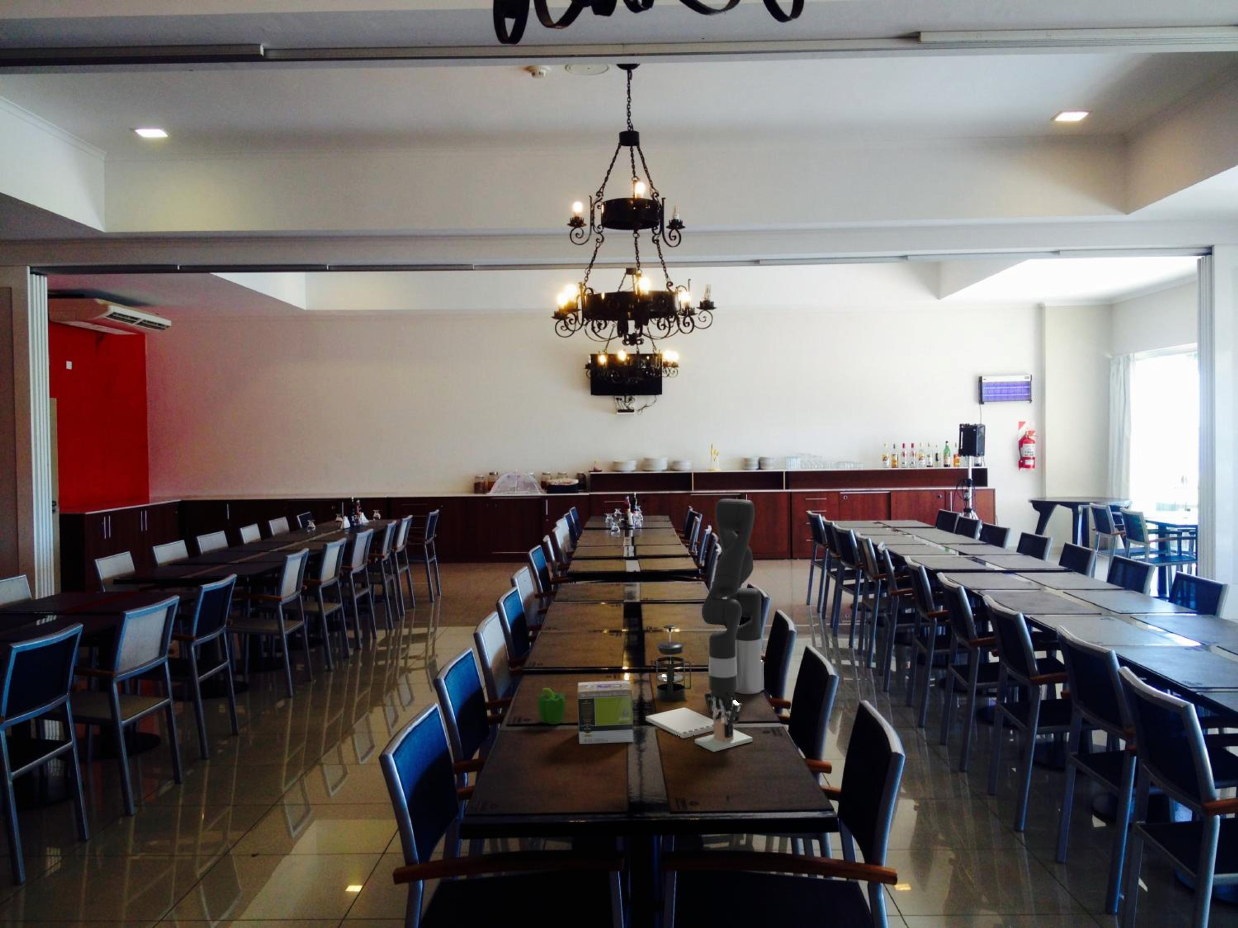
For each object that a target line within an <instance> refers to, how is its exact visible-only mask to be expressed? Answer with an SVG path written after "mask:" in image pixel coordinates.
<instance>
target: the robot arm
mask: <svg viewBox="0 0 1238 928" xmlns="http://www.w3.org/2000/svg"><path fill="white" fill-rule="evenodd" d="M755 513H756V512H755V504H754V502H753V501H752V500H749V499H741V498H740V499H737V498H736V499H735V498H722V499H721V498H720V499H719V500H718V501H717V503H716V505H715V511H714V518H715V524H716V528H717V532H718V533H717V534H718V537H719V541H720V546H721V548H720V549H721V556H720V557H719V559H718V560H717V563H716V566H715V570H714V577H713V582H712V585H711V587H710V590H709V592H708V594H707V596H706V598H705V600H704V601H703V604H702V608H701V617H702V619H703V621H704V622H705V624H707V625H714V626H727V628H726V630H723V631H720V632H714V633H712V634H710V636H709V638H708V639H709V640H708V641H709V642H708V643H709V647H708V648H709V649H708V650H709V653H708V654H709V658H708V689H709V690H710V691H711V692H706V693H704V700H705V703H706V708H707V711H708V713H707V714H708V716H710V717H711V716H712V720H715V719H719V718H723V717H724V722H725V724H724V730H725V738H730V737H732V736H733V729H734V724H737V723H739V721H740V717H741V714H742V710H743V704H742V702H741V703H738V702H737V701H736V696H735V693H737V694H741V695H743V694H744V695H752V694H753V695H754V694H759V693H760V692H762V691H763V690H764V689H765V686H764V685H765V677H764V676H765V675H764V672H765V671H764V665H765V664H764V663H765V662H764V660H762V635H761V634H762V633H761V632H762V630H761V628H762V626H761V624H762V623H761V621H762V619H761V618H762V613H761V612H762V594H761V591H760V589H758V588H752V587H751V588H750V587H740V586H742V585H743V584H744V583H745V582H746V581H747V580H748V578H749V577H750V576H751V575H752V573H753V571H754V557H753V556H754V555H753V553H752V549H751V547H750V546H749V542H750V540H751V535H752V531H753V528H754V524H755ZM736 532H738V534H737V533H736ZM741 618H750V619H749V620H748V621H747V622H746V623H744V624H743V623H742V624H741V625H739V624H740V621H741ZM728 718H729V719H728Z"/></svg>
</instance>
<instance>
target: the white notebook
mask: <svg viewBox="0 0 1238 928" xmlns="http://www.w3.org/2000/svg"><path fill="white" fill-rule="evenodd" d="M645 720H646V722H648V723H651V724H652V725H655V726H657V727H659V728H661V729H662V730H665V731H667V732H670V733H671V734H673V735H675V736H677V735H678V736H677V737H679V736H680V737H679V738H681V739H685V738H689V737H690V738H691V737H693V735H694V736H697V735H701V734H705V733H709V732H714V719H713V718H710V717H707V716H705V715H702V714H700V713H698V712H697V711H694V710H692V709H689V708H686V707H681V708H677V709H672V710H668V711H667V710H666V711H663V712H659V713H654V714H650V715H647V716H645Z"/></svg>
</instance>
